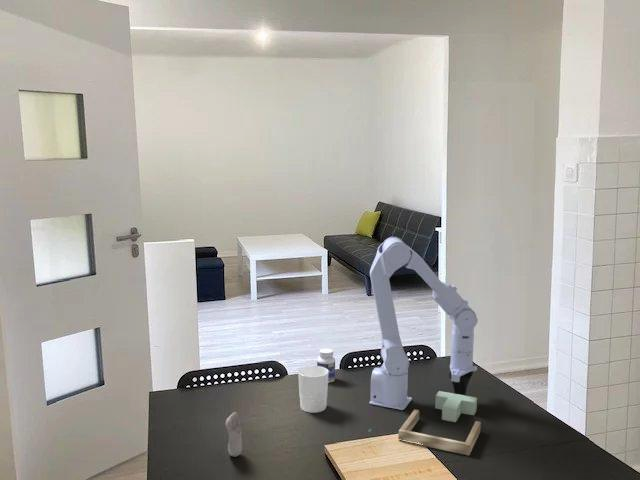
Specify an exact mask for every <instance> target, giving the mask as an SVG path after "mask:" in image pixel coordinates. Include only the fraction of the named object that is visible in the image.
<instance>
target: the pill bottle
mask: <svg viewBox="0 0 640 480" xmlns="http://www.w3.org/2000/svg"><path fill="white" fill-rule="evenodd" d="M318 352H319V354H318V355H319V356H318V357H317V360H316V364H317V365H316V366H320V367H324V368H326V369H328V371H329V373H328V384H330V383H333V382H335V380H336V359H335V357H333V356H334V350H333V349H331V348H321V349H319V350H318Z"/></svg>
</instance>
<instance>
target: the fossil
mask: <svg viewBox="0 0 640 480" xmlns="http://www.w3.org/2000/svg"><path fill="white" fill-rule="evenodd" d="M239 419H240V418H239V414H238V413H237V412H236V411H234V412H232V413H231V414H230V415H229V416H228V417H227V418H226V420H225V427H226V430H227V432H228V433H227V434H228V438H229V439H228V443H227V452H228V453H229V455H230V456H232V457H235V458H236V457H238V456H240V454H241V453H242V451H243V439H242V426H241V423H240V420H239Z"/></svg>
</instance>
